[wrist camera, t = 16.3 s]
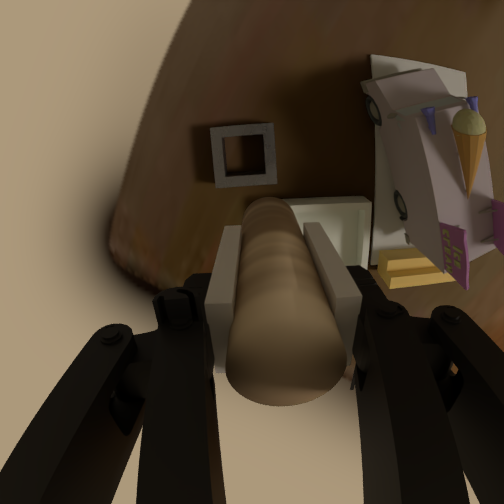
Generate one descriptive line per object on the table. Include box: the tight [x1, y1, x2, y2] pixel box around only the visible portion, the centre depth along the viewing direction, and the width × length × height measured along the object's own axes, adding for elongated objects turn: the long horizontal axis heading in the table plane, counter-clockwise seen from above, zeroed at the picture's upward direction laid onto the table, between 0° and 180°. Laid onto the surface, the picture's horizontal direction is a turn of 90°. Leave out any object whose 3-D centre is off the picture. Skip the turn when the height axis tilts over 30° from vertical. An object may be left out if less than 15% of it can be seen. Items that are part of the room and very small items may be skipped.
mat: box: [370, 55, 467, 265], centre depth 32 cm, size 26×14×1 cm, turn 4°
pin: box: [225, 197, 347, 406], centre depth 13 cm, size 3×3×12 cm
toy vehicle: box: [360, 68, 504, 290], centre depth 25 cm, size 9×20×15 cm, turn 23°
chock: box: [377, 248, 456, 289], centre depth 35 cm, size 3×12×4 cm, turn 94°
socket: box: [210, 123, 277, 188], centre depth 31 cm, size 6×6×2 cm
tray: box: [281, 196, 372, 270], centre depth 35 cm, size 11×11×3 cm
